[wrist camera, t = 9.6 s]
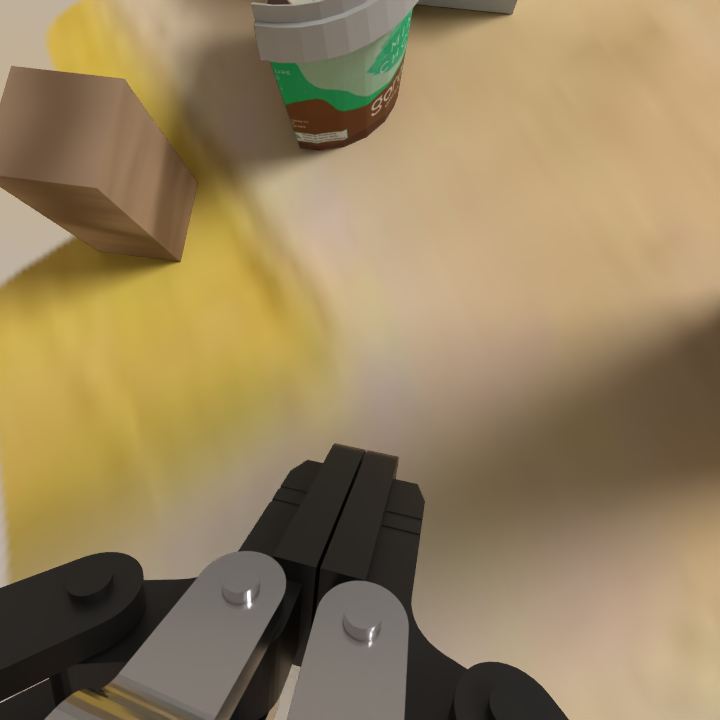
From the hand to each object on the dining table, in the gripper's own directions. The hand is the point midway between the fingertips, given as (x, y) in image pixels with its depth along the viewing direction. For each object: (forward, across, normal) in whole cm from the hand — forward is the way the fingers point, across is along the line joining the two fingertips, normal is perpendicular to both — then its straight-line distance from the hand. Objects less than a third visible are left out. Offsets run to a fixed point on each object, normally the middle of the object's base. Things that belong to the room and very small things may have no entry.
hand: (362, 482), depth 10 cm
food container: (+22, +6, -12) cm, 26 cm away
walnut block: (+16, +17, -4) cm, 23 cm away
